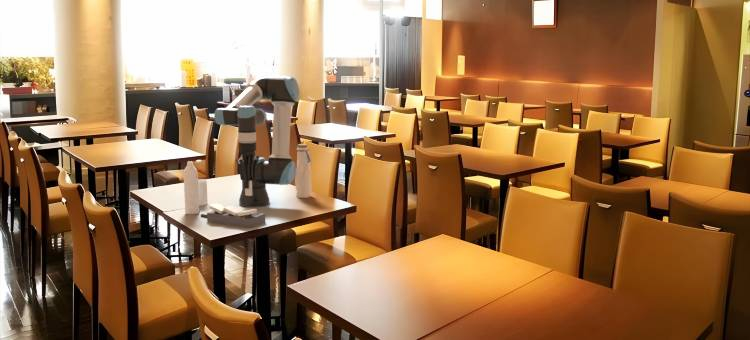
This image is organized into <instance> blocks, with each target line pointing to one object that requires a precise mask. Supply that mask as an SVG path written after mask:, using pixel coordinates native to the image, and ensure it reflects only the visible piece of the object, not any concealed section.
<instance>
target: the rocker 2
mask: <svg viewBox="0 0 750 340" xmlns="http://www.w3.org/2000/svg"><path fill="white" fill-rule="evenodd" d="M223 210H224V211H226V212H228V213H230V214H232V215H234V216H237V213H240V212H242V211H244V210H243V209H241V208H238V207H236V206H234V205H232V204H230V205H227V206H224V208H223Z"/></svg>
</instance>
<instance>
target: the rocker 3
mask: <svg viewBox="0 0 750 340" xmlns="http://www.w3.org/2000/svg"><path fill="white" fill-rule="evenodd" d="M255 212H257V213H258V208H251V209H247V210H246V209H245V210H243V211H242V212H240V213H237V215H238V216H243V215H249V214H252V213H255Z"/></svg>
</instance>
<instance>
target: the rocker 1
mask: <svg viewBox="0 0 750 340" xmlns="http://www.w3.org/2000/svg"><path fill="white" fill-rule="evenodd" d="M208 207H209V208H208V209H210V210H212V211H216V212H218V213H220V214H222V213H225V212H226V211H224V210H223V208H224V207H225V206H224V205H222V204H220V203H217V202H216V203H212V204H210V205H209V206H208Z"/></svg>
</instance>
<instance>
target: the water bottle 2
mask: <svg viewBox="0 0 750 340" xmlns="http://www.w3.org/2000/svg"><path fill="white" fill-rule="evenodd" d="M295 151H297V152H296V156H297V157H296V170H295V176H294V186H295V189H296V194H295V195H296V196H295V197H296V198H297V199H298V198H299V199H306V198H311V193H312V191H313V190H312V189H313V185H312V184H313V183H312V168H311V167H312V166H311V164H312V163H313V161H312V153H311V149H309V148H308V144H307V143H299V144H297V148H296V149H295Z"/></svg>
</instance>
